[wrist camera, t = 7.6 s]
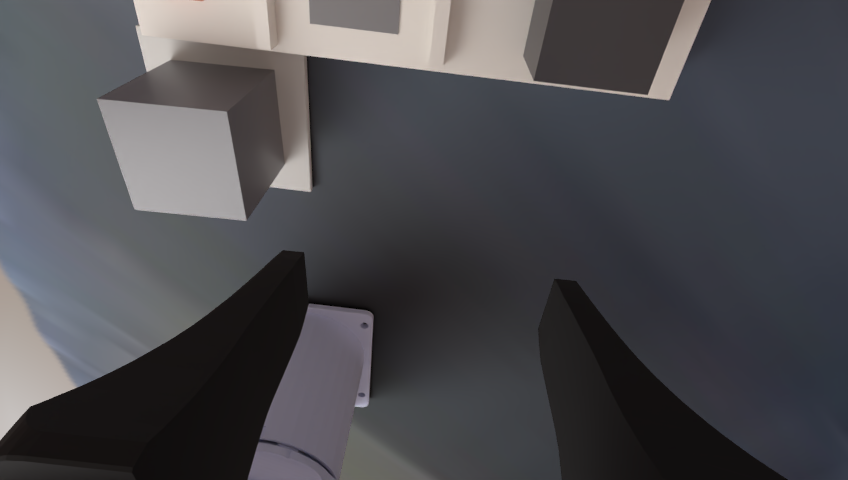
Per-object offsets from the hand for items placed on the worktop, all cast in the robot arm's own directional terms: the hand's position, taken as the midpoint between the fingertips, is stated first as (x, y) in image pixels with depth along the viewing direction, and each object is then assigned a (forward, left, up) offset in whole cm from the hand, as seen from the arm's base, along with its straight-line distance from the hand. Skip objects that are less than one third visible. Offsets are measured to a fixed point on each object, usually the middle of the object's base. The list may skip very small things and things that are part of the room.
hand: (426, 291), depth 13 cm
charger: (0, +10, -10) cm, 14 cm away
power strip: (+7, +2, -10) cm, 13 cm away
